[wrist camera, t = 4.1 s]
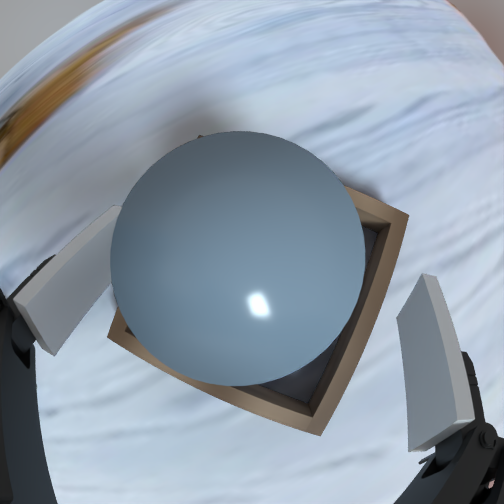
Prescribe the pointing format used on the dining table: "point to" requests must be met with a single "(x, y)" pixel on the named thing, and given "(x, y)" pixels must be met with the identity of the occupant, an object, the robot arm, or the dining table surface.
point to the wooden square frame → (346, 350)
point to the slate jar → (237, 258)
